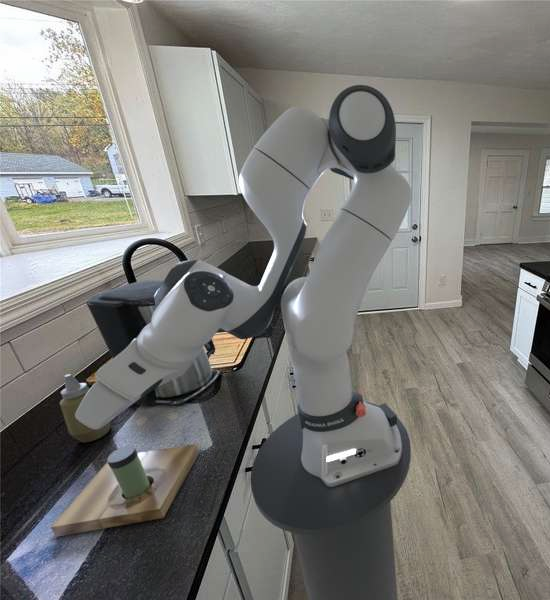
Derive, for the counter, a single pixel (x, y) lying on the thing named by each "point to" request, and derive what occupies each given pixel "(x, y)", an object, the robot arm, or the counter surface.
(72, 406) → the squeeze bottle
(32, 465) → the counter surface
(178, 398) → the coffee maker
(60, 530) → the wooden board with hole
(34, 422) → the counter surface
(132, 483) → the green cylinder
